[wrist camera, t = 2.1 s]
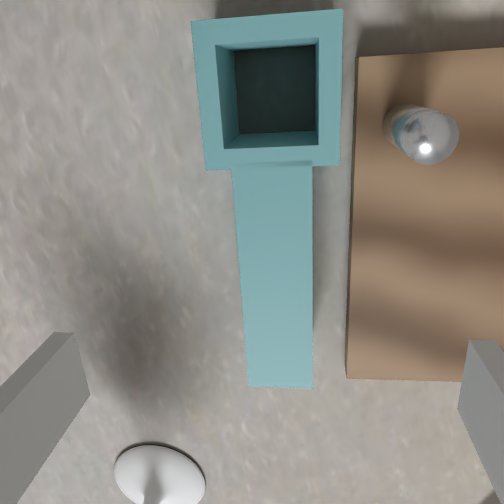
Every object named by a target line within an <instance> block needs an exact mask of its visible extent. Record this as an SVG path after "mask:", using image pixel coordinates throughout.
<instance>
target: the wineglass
mask: <svg viewBox="0 0 504 504" xmlns="http://www.w3.org/2000/svg"><path fill="white" fill-rule="evenodd" d="M114 476H115V479H116V482H117V484H118V486H119V488H120V489H121V490H122V492H123V493H124V494H125V495H126V496H127V497H128V498H129V499H131V500H132V501H133V502H135V503H137V504H197V503H198V502H199V501H200V500H201V499H202V497H203V495H204V492H205V480H204V477H203V475H202V473H201V471H200V469H199V468H198V467H197V465H196V464H195V463H194V462H193V461H191V460H190V459H189V458H188V457H186V456H185V455H183V454H181V453H179V452H177V451H175V450H173V449H170V448H166V447H162V446H155V445H144V446H138V447H134V448H131V449H129V450H127V451H126V452H124V453H123V454H122V455H121V456H120V457H119V458H118V459H117V461H116V463H115V467H114Z"/></svg>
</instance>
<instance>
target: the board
mask: <svg viewBox="0 0 504 504" xmlns="http://www.w3.org/2000/svg"><path fill="white" fill-rule="evenodd" d="M402 103H410V104H413V105H417V106H421V107H424V108H428V109H431V110H435V111H439V112H442V113H445V114H447V115H449V116H451V117H452V118H453V119H454V120H455V122H456V124H457V126H458V129H459V140H458V143H457V146H456V148H455V149H454V151H453V152H452V154H451V155H450V156H449V157H447V158H446V159H445V160H443V161H441V162H439V163H436V164H432V165H424V164H420V163H417V162H415V161H414V160H413V159H411V158H410V157H409V156H407V155H406V154H405V153H404V152H402V151H401V150H400V149H398V148H397V147H396V146H395V145H393V144H392V143H391V142H389V141H388V140H387V139H386V137H385V136H384V134H383V130H382V124H383V119H384V117H385V115H386V114H387V112H388V111H389V110H390V109H391V108H393V107H394V106H396V105H398V104H402ZM469 340H495V341H496V342H497V343H498V345H499V346H500V348H501V349H502V350H503V352H504V47H500V48H485V49H470V50H456V51H441V52H426V53H412V54H397V55H382V56H368V57H358V58H356V59H355V88H354V116H353V144H352V173H351V201H350V229H349V258H348V286H347V314H346V343H345V371H346V378H347V379H381V380H417V381H452V382H462V378H463V372H464V367H465V361H466V355H467V349H468V343H469Z"/></svg>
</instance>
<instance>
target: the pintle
mask: <svg viewBox="0 0 504 504" xmlns="http://www.w3.org/2000/svg"><path fill="white" fill-rule="evenodd" d="M382 130H383V134H384V136H385V137H386V139H387V140H388V141H389V142H391V143H392V144H393V145H395V146H396V147H397V148H398V149H400V150H401V151H402V152H404V153H405V154H406V155H407V156H409V157H410V158H411V159H413V160H414V161H415V162H417V163H420V164H424V165H432V164H436V163H439V162H441V161H443V160H445V159H446V158H447V157H449V156H450V155H451V154H452V152H453V151H454V149H455V148H456V146H457V143H458V140H459V129H458V126H457V124H456V122H455V120H454V119H453V118H452V117H451V116H449V115H447V114H445V113H442V112H439V111H435V110H431V109H428V108H424V107H421V106H417V105H413V104H410V103H402V104H398V105H396V106H394V107H393V108H391V109H390V110H389V111H388V112H387V114H386V115H385V117H384V119H383V124H382Z"/></svg>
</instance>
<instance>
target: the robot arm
mask: <svg viewBox="0 0 504 504" xmlns="http://www.w3.org/2000/svg"><path fill="white" fill-rule="evenodd" d="M89 396H90V392H89V388H88V384H87V380H86V376H85V373H84V369H83V365H82V361H81V357H80V354H79V350H78V346H77V342H76V338H75V334H74V333H59V332H54V333H53V334H52V335H51V336H50V337H49V338H48V339H47V340H46V341H45V342H44V343H43V344H42V345H41V346H40V347H39V348H38V349H37V350H36V351H35V352H34V353H33V354H32V355H31V356H30V357H29V358H28V359H27V360H26V361H25V362H24V363H23V364H22V365H21V366H20V367H19V368H18V369H17V370H16V371H15V372H14V373H13V374H12V375H11V376H10V377H9V378H8V379H7V380H6V382H5V383H4V384H3V385H2V386H1V387H0V504H17V502H18V501H19V499H20V498H21V496H22V495H23V493H24V492H25V490H26V489H27V487H28V486H29V485H30V483H31V482H32V480H33V479H34V477H35V476H36V474H37V473H38V471H39V470H40V468H41V467H42V465H43V464H44V462H45V461H46V459H47V458H48V456H49V455H50V453H51V452H52V451H53V449H54V448H55V446H56V445H57V443H58V442H59V440H60V439H61V437H62V436H63V434H64V433H65V431H66V430H67V428H68V427H69V425H70V424H71V422H72V421H73V419H74V418H75V417H76V415H77V414H78V412H79V411H80V409H81V408H82V406H83V405H84V403H85V402H86V400H87V399H88V397H89ZM457 409H458V412H459V414H460V416H461V418H462V420H463V422H464V425H465V427H466V429H467V431H468V433H469V435H470V438H471V440H472V442H473V444H474V446H475V448H476V451H477V453H478V455H479V457H480V459H481V461H482V464H483V466H484V468H485V470H486V472H487V474H488V477H489V479H490V481H491V483H492V485H493V487H494V490H495V492H496V494H497V496H498V498H499V500H500V503H501V504H504V352H503V350H502V349H501V348H500V346H499V345H498V343H497V342H496V341H495V340H469V343H468V349H467V355H466V361H465V367H464V372H463V378H462V384H461V390H460V396H459V402H458V408H457Z"/></svg>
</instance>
